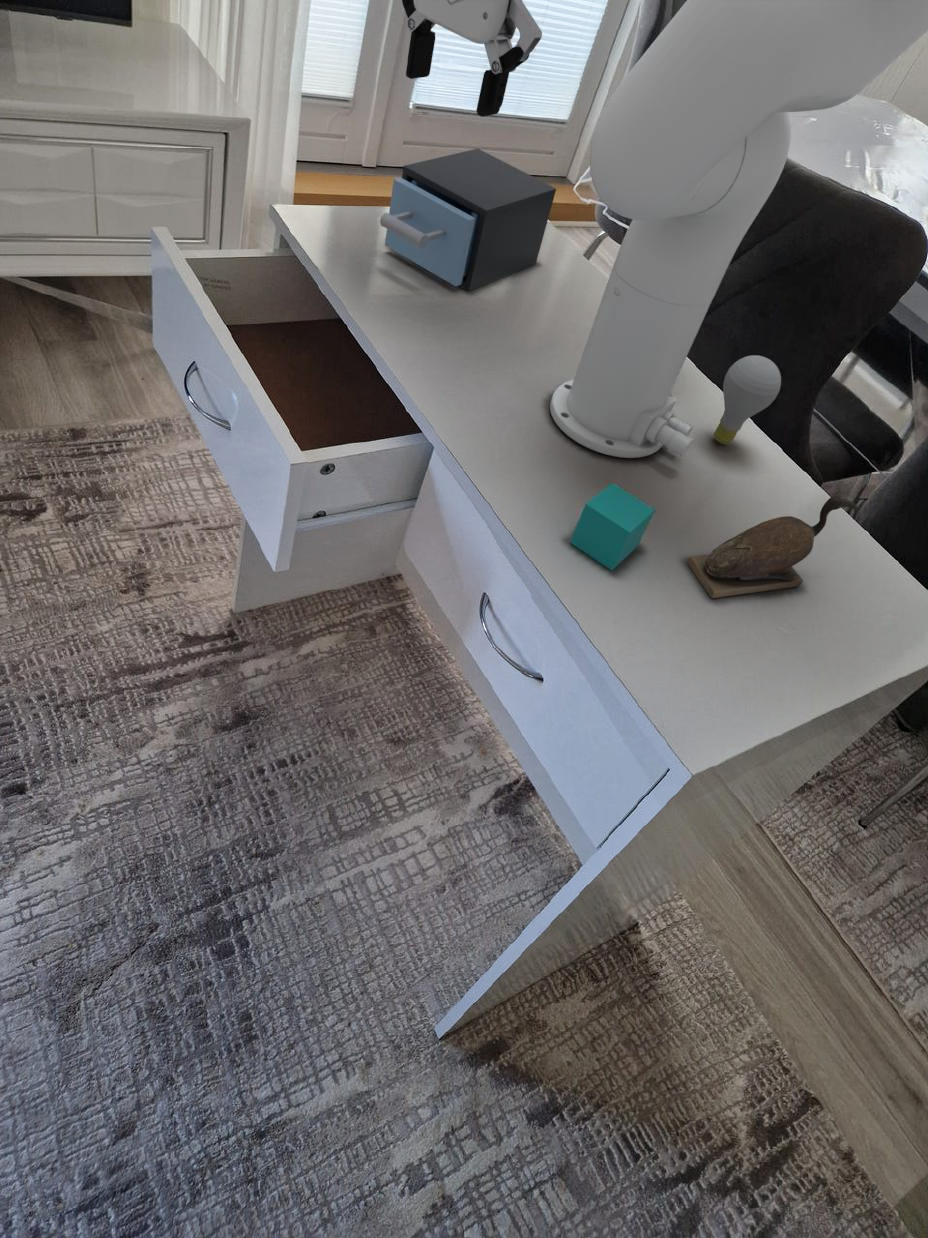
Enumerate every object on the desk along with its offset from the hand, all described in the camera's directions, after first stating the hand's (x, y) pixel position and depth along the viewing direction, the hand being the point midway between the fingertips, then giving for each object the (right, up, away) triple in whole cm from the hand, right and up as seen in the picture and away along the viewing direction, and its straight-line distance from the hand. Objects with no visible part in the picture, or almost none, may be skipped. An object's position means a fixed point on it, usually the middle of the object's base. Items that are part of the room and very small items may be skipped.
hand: (451, 94), depth 85 cm
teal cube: (+14, -48, -13) cm, 52 cm away
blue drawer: (-1, -10, +16) cm, 19 cm away
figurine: (+28, -51, -11) cm, 59 cm away
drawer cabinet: (+1, -8, +20) cm, 21 cm away
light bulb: (+29, -36, +2) cm, 46 cm away
